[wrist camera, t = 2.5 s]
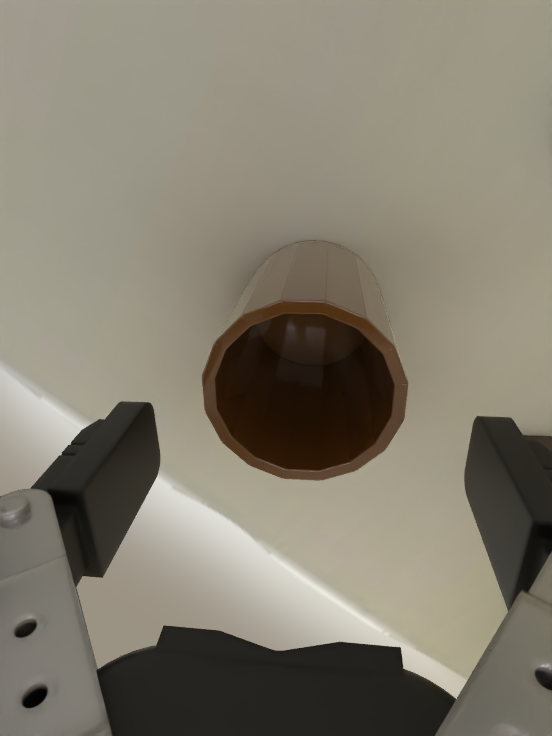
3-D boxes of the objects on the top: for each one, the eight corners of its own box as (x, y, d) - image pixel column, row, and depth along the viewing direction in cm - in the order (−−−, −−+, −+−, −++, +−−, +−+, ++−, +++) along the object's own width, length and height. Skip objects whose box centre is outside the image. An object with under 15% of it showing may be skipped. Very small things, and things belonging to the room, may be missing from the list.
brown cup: (250, 365, 24) (210, 475, 16) (244, 240, 21) (194, 298, 13) (375, 369, 23) (397, 485, 15) (386, 240, 20) (417, 302, 13)
